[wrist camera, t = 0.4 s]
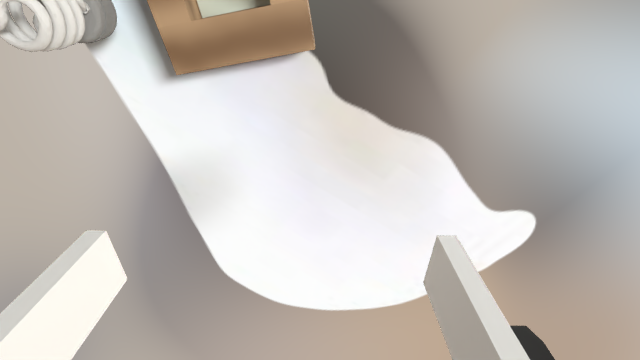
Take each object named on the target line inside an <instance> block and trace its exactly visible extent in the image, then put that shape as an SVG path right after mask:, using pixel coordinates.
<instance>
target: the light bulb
mask: <svg viewBox="0 0 640 360" xmlns="http://www.w3.org/2000/svg"><path fill="white" fill-rule="evenodd" d="M7 3H8V6H7ZM21 3H22V4H24V5H26V6H27V7H28V8H29V9H30V10H31V11H32V12H33V13H34V14H35V15H34V18H33V24H34V26H35V29H36V30H37V32H36V31H35V30H34V29H33V28H32V27H31V25H30V24H29V22H28V21H27V19H26V17H25V15H24V13H23V9H22V4H21ZM8 7H9V10H10V13H11V15H10V13H9V10H8ZM11 16H12V17H13V19H14V21H15V22H14V21H13V19H12V17H11ZM116 22H117V15H116V10H115V7H114V5H113V3H112V1H111V0H0V37H1V38H2V39H4V40H5V41H6V42H7V43H9V44H10V45H12V46H14V47H16V48H19V49H21V50H25V51H30V52H31V51H51V50H54V49H63V48H66V47H68V46H70V45H74V44H76V43H77V42H78V43H93V42H96V41H99V40H102V39H104V38H106V37H108V36H110V35H111V34H112V33H113V32H114V30H115V27H116ZM15 23H16V24H17V25H16V24H15ZM18 27H19V28H20V29H21V30H20V29H19V28H18Z"/></svg>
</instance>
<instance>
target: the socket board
mask: <svg viewBox="0 0 640 360" xmlns="http://www.w3.org/2000/svg"><path fill="white" fill-rule="evenodd" d="M147 2H148V5H149V7H150V10H151V12H152V15H153V17H154V20H155V22H156V25H157V27H158V30H159V32H160V35H161V37H162V40H163V42H164V45H165V47H166V50H167V52H168V55H169V57H170V60H171V62H172V65H173V67H174V70H175V72H176V75H180V74H186V73H191V72H196V71H202V70H207V69H212V68H218V67H223V66H228V65H234V64H239V63H244V62H250V61H255V60H260V59H266V58H271V57H276V56H282V55H287V54H292V53H298V52H303V51H308V50H314V49H315V39H314V33H313V27H312V21H311V15H310V9H309V4H308V0H147Z"/></svg>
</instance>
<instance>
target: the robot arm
mask: <svg viewBox="0 0 640 360" xmlns="http://www.w3.org/2000/svg"><path fill="white" fill-rule="evenodd" d="M126 280H127V277H126V275H125V272H124V270H123V268H122V266H121V263H120V261H119V259H118V257H117V254H116V252H115V250H114V248H113V245H112V243H111V241H110V239H109V236H108V234H107V232H106V231H99V230H86V231H85V232H84V233H83V234H82V235H81V236H80V237H79V238H78V239H77V240H76V241H75V242H74V243H73V244H72V245H71V246H70V247H68V248H67V249H66V250H65V251H64V252H63V253H62V254H61V255H60V256H59V257H58V258H57V259H56V260H55V261H54V262H53V263H52V264H51V265H50V266H49V267H48V268H47V269H46V270H45V271H44V272H43V273H42V274H41V275H40V276H39V277H37V278H36V280H34V281H33V282H32V283H31V284H30V285H29V286H28V287H27V288H26V289H25V290H24V291H23V292H22V293H21V294H20V295H19V296H18V297H17V298H16V299H15V300H14V301H13V302H12V303H11V304H10V305H9V306H8V307H7V308H6V309H4V311H2V312H1V314H0V360H71V359H72V358H73V356H74V355H75V353H76V352H77V351H78V349H79V348H80V346H81V345H82V343H83V342H84V340H85V339H86V338H87V336H88V334H89V333H90V332H91V330H92V329H93V328H94V326H95V325H96V323H97V321H98V320H99V319H100V318H101V316H102V315H103V313H104V312H105V310H106V309H107V308H108V306H109V304H110V303H111V302H112V300H113V299H114V297H115V296H116V295H117V293H118V292H119V290H120V289H121V287H122V286H123V285H124V283H125V282H126ZM423 283H424V286H425V288H426V291H427V294H428V296H429V299H430V301H431V304H432V307H433V309H434V312H435V315H436V317H437V320H438V323H439V325H440V328H441V331H442V333H443V336H444V339H445V341H446V344H447V346H448V349H449V352H450V354H451V357H452V360H555V359H554V357H553V356H552V355H551V353H550V351H549V350H548V348H547V347H546V345H545V344H544V342H543V341H542V340H541V339H539V338H538V337H537V336H536V335H535V334H534V333H533V332H532V331H531V330H530V329H529V328H528V327H527V326H510V325H509V324H508V322H507V320H506V318H505V317H504V315H503V314H502V312H501V310H500V309H499V307H498V305H497V303H496V302H495V300H494V299H493V297H492V295H491V293H490V292H489V290H488V288H487V287H486V285H485V283H484V282H483V280H482V278H481V277H480V275H479V273H478V272H477V270H476V268H475V267H474V265H473V263H472V261H471V260H470V258H469V256H468V255H467V253H466V251H465V250H464V248H463V246H462V245H461V243H460V241H459V240H458V238H457V236H444V235H437V237H436V241H435V244H434V248H433V251H432V255H431V258H430V261H429V265H428V268H427V272H426V275H425V279H424V282H423Z"/></svg>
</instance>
